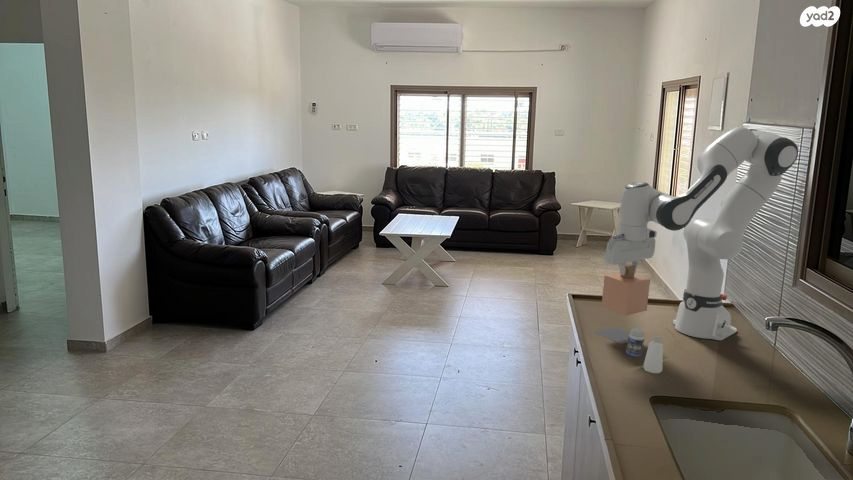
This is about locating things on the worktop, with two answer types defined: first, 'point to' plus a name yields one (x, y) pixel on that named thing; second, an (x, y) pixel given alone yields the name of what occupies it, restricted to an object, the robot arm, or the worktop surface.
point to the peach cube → (625, 292)
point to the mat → (615, 334)
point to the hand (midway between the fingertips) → (627, 273)
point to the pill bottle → (635, 342)
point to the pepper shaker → (654, 355)
